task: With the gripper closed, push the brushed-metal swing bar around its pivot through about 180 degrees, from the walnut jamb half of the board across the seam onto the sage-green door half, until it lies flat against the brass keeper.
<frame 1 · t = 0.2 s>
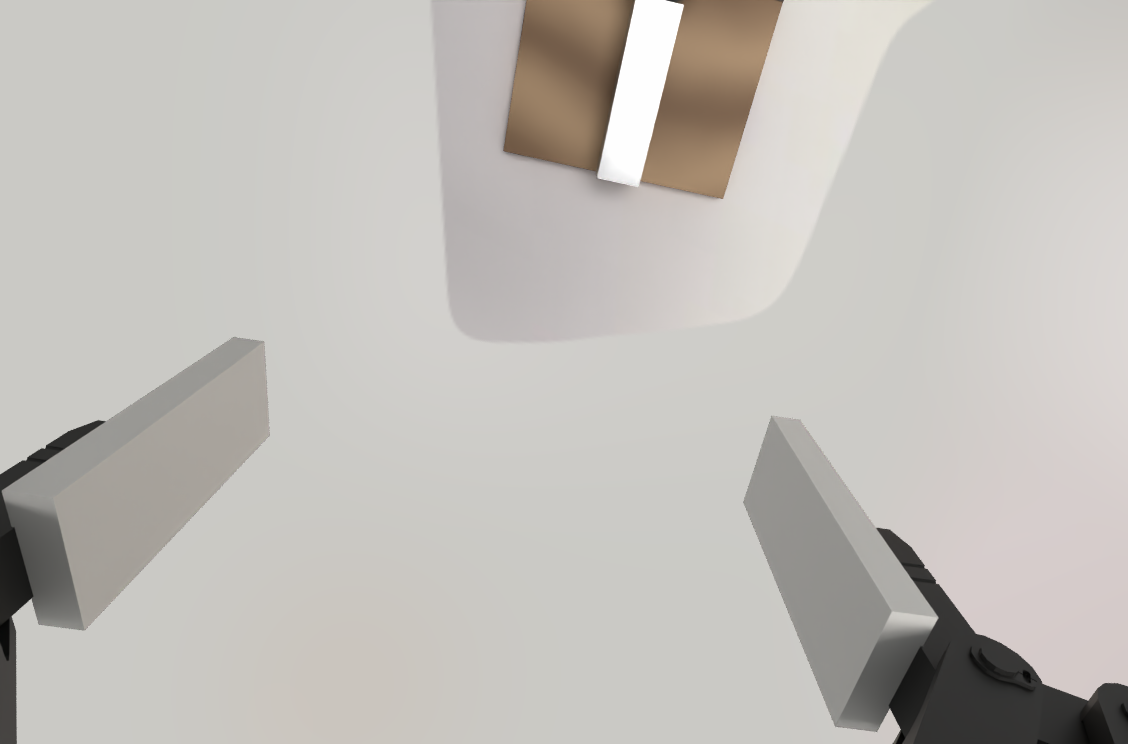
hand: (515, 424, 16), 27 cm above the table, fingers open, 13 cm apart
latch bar: (644, 57, 33), point 3 cm above the table, hinge at 0.0°
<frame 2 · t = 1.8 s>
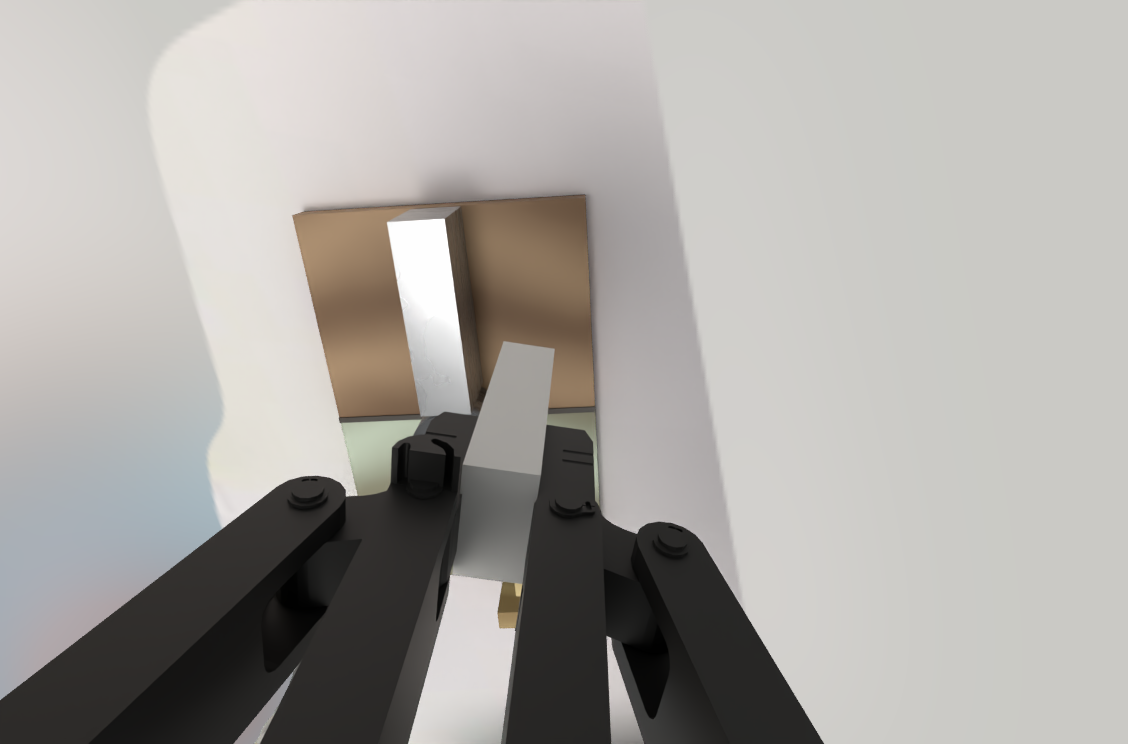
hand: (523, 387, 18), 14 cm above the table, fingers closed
door board: (470, 404, 34), on the table
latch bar: (446, 351, 29), point 3 cm above the table, hinge at 0.0°
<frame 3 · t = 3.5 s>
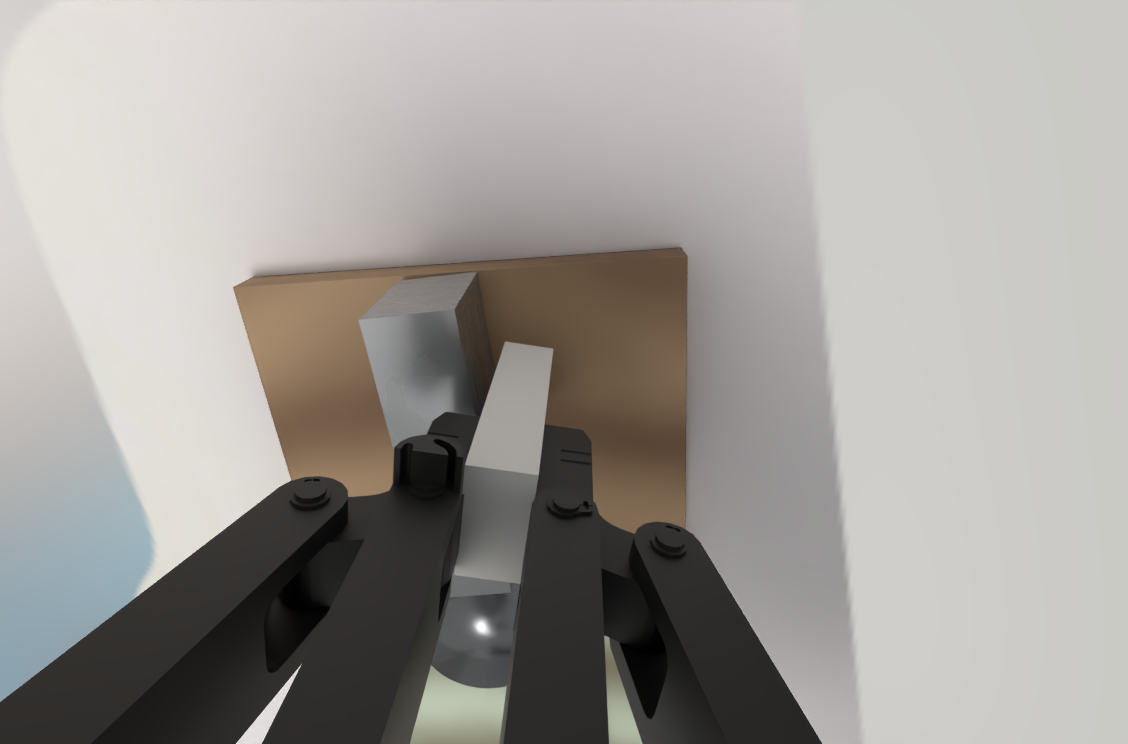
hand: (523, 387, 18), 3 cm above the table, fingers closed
door board: (502, 536, 24), on the table
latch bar: (467, 490, 19), point 3 cm above the table, hinge at 2.7°, touching gripper
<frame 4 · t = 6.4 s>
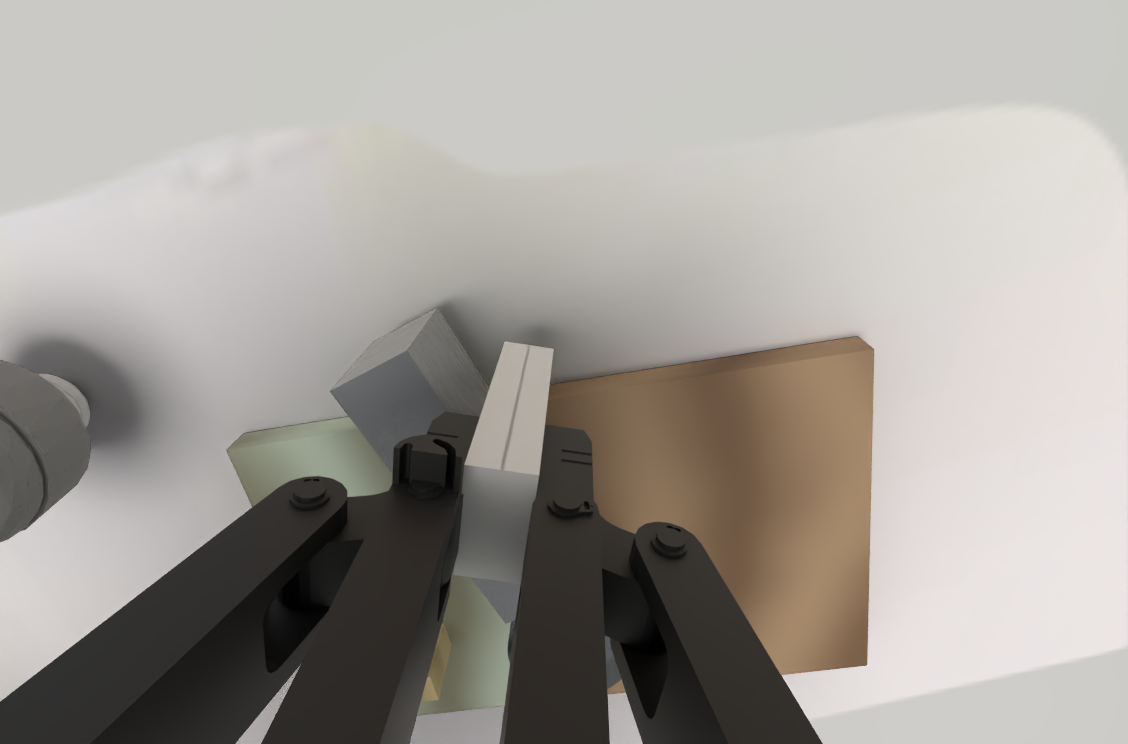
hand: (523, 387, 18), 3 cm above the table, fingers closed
door board: (571, 545, 24), on the table
light bulb: (76, 392, 22), on the table
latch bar: (504, 512, 19), point 3 cm above the table, hinge at 108.1°, touching gripper
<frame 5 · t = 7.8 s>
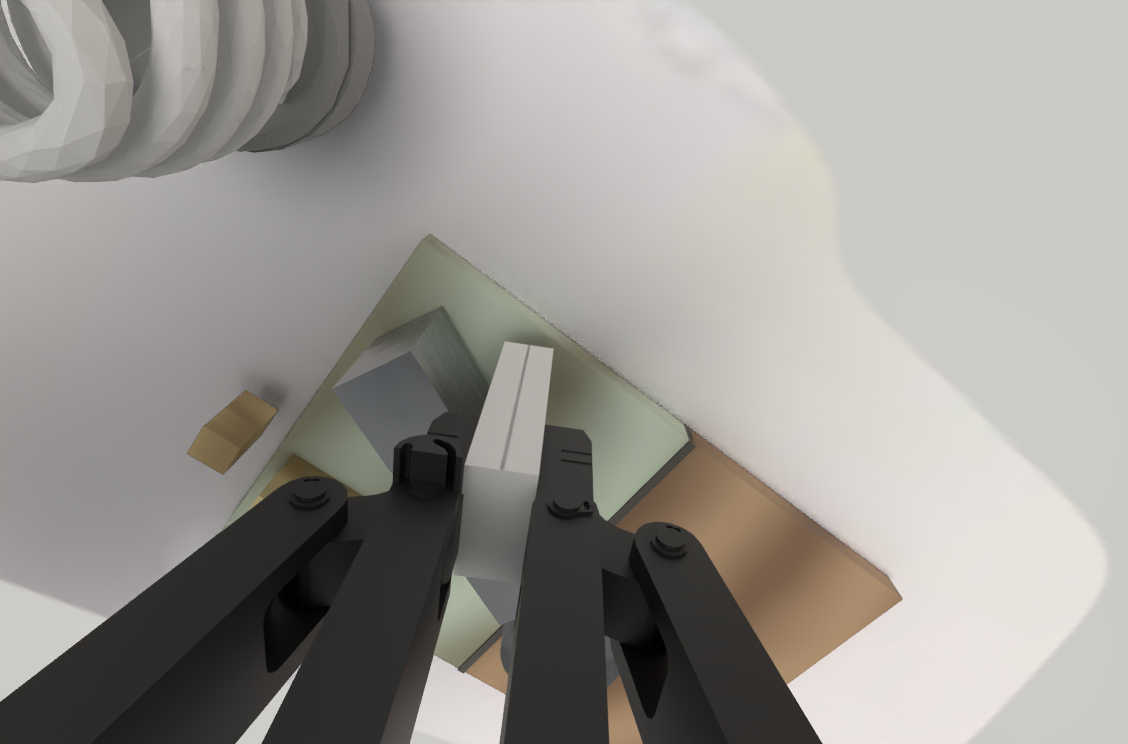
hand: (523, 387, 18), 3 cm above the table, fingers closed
door board: (565, 546, 24), on the table
light bulb: (317, 40, 17), on the table
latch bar: (501, 514, 19), point 3 cm above the table, hinge at 154.6°, touching gripper
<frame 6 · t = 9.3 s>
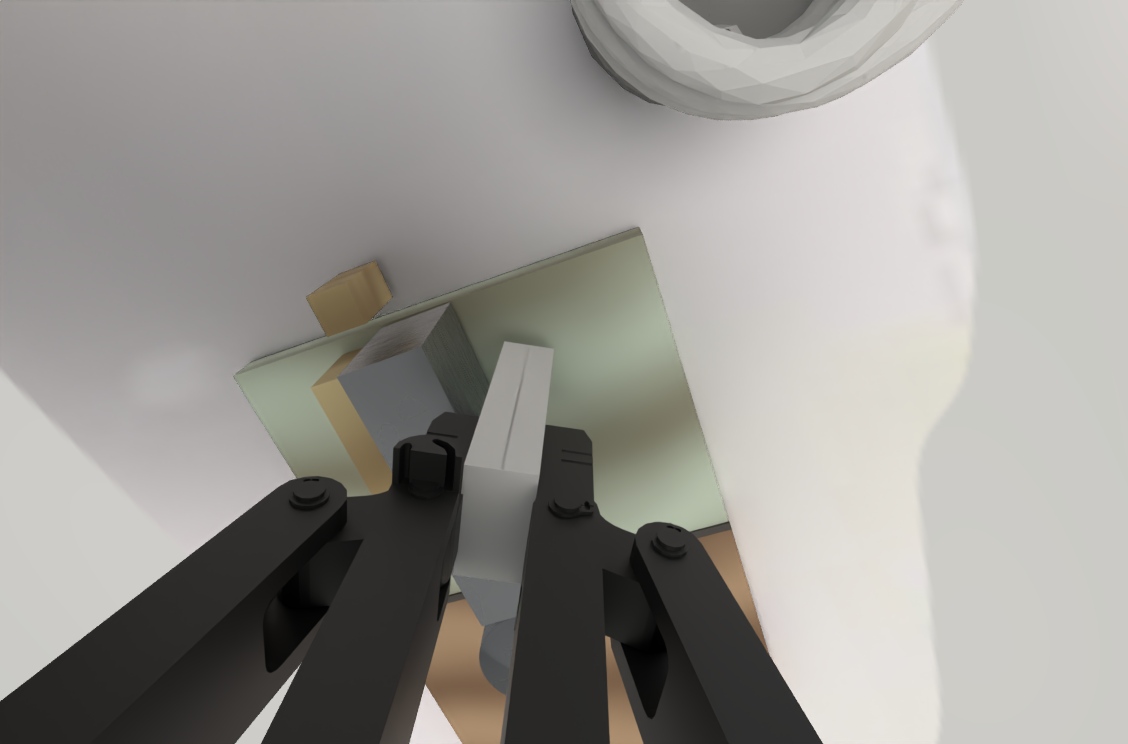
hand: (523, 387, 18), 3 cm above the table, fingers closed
door board: (549, 550, 24), on the table
light bulb: (668, 1, 16), on the table
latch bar: (492, 514, 19), point 3 cm above the table, hinge at 181.4°, touching gripper
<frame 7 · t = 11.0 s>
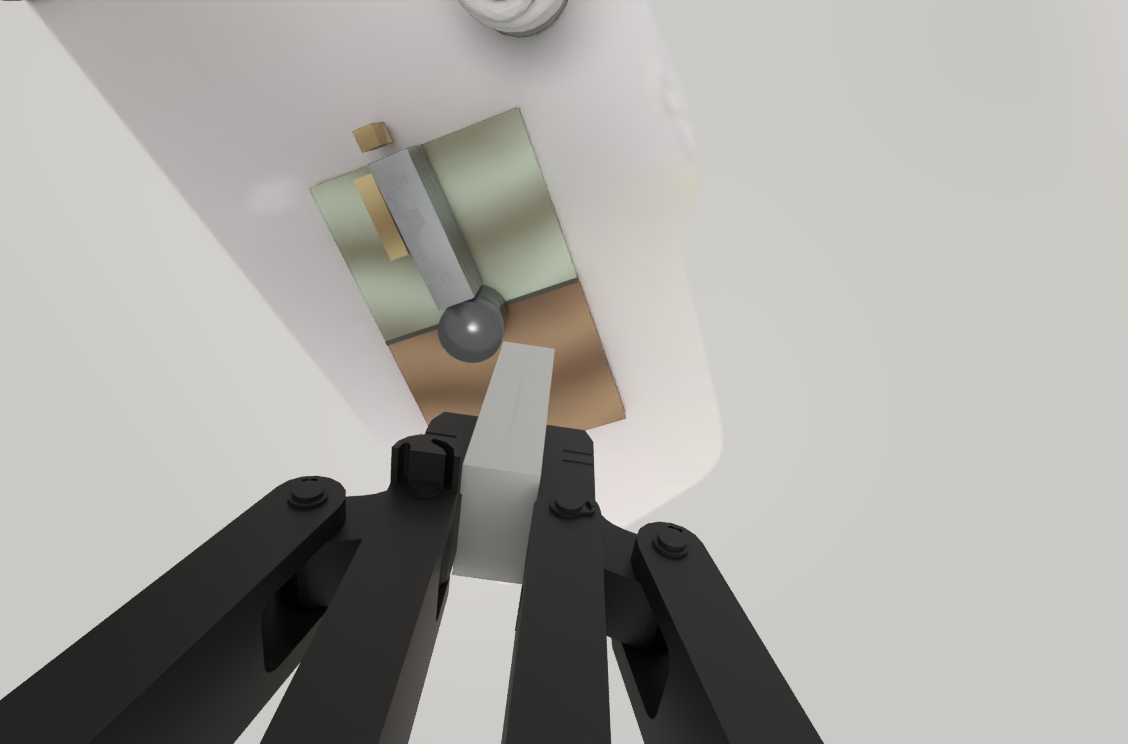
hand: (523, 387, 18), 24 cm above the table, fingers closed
door board: (482, 306, 42), on the table
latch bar: (444, 258, 37), point 3 cm above the table, hinge at 181.4°
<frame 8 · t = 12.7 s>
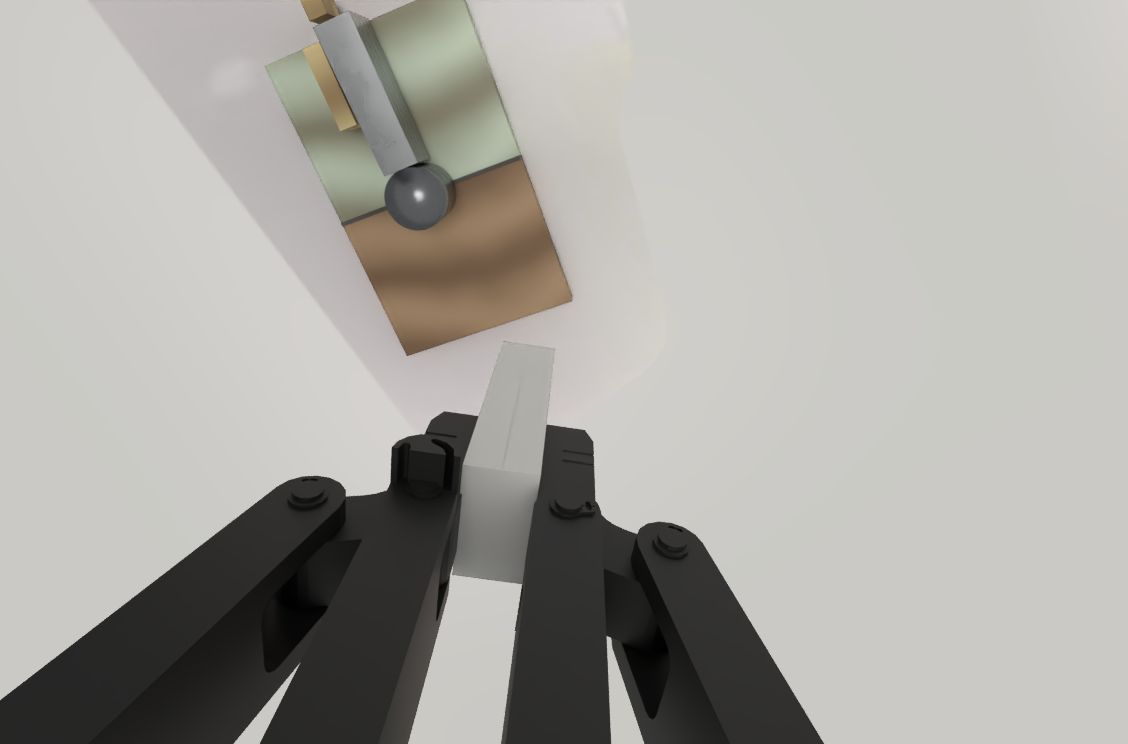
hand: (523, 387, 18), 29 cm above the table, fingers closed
door board: (432, 189, 44), on the table
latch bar: (391, 129, 39), point 3 cm above the table, hinge at 181.4°
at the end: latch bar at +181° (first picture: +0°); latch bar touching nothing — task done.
